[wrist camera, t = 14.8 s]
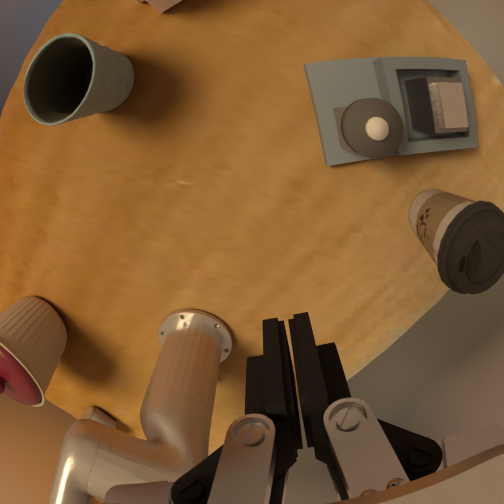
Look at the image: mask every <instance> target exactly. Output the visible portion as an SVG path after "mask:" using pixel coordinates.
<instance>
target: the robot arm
mask: <svg viewBox="0 0 504 504" xmlns="http://www.w3.org/2000/svg"><path fill="white" fill-rule="evenodd" d="M293 316H294V319H289V320H288V322H289V328H290V335H291V342H292V349H293V356H294V363H295V371H296V378H297V385H298V393H299V400H300V406H301V412H302V417H303V423H304V429H305V434H306V440H307V446H308V448H309V447H314V450H315V456H316V459H318V460H320V461H322V462H324V463H325V464H327V468H328V471H329V473H330V476H331V479H332V482H333V485H334V488H335V490H336V493H337V496H338V499H339V501H338V502H333V503H328V504H504V428H503V427H500V426H497V425H496V426H489V427H486V428H482V429H478V430H474V431H470V432H466V433H461V434H456V435H451V436H446V437H443V439H442V440H437V441H434V440H432V439H430V438H427V437H424V436H421V435H418V434H415V433H413V432H410V431H408V430H405V429H402V428H400V427H397V426H394V425H392V424H389V423H387V422H384V421H382V420H379V419H377V418H376V417H375V415H374V413H373V411H372V410H371V408H370V406H369V405H368V404H367V403H366V402H364V401H362V400H360V399H357V398H351V395H350V391H349V388H348V384H347V381H346V378H345V374H344V371H343V368H342V364H341V361H340V358H339V355H338V351H337V348H336V345H335V343H334V342H333V343H328V344H323V345H318V346H316V344H315V339H314V335H313V331H312V327H311V323H310V319H309V315H308V312H305V313H300V314H294V315H293ZM158 335H159V341H160V344H161V345H162V349H161V352H160V354H159V357H158V360H157V363H156V365H155V368H154V371H153V374H152V376H151V379H150V382H149V385H148V388H147V391H146V394H145V396H144V399H143V402H142V406H141V410H140V420H141V425H142V428H143V431H144V434H145V436H146V438H147V440H148V441H146V440H142V439H139V438H136V437H134V436H131V435H128V434H126V433H123V432H121V431H118V430H116V429H114V428H111V427H109V426H107V425H104V424H102V423H99V422H97V421H94V420H91V419H79V420H77V421H76V422H74V423H73V424H72V425H71V426H70V428H69V430H68V431H67V433H66V436H65V438H64V441H63V444H62V447H61V451H60V454H59V458H58V463H57V467H56V471H55V476H54V481H53V486H52V491H51V496H50V502H49V504H285V498H286V490H287V482H288V474H289V471H288V469H289V468H290V467H291V466H292V465H293V464H294V463H295V462H296V457H298V454H297V449H303V445H302V436H301V427H300V419H299V410H298V402H297V394H296V386H295V378H294V372H293V366H292V361H291V356H290V350H289V345H288V340H287V335H286V330H285V325H284V320H283V321H278V318H272V319H266V320H263V355H261V356H254V357H248V358H247V368H246V395H245V415H244V416H241V417H239V418H238V419H236V420H234V421H233V423H232V424H231V425H230V426H229V428H228V430H227V434H226V437H225V441H224V444H223V445H222V446H221V447H220V448H218V449H217V450H216V451H215V452H213V453H212V454H211V455H209V456H208V449H209V437H210V428H211V421H212V414H213V407H214V401H215V394H216V387H217V381H218V380H219V379H218V373H219V367H220V363H221V362H223V361H224V360H225V359H226V358H227V357H228V356H229V354H230V352H231V349H232V336H231V333H230V331H229V329H228V328H227V326H226V325H225V324H224V323H223V322H222V321H221V320H219V319H218V318H217V317H215V316H213V315H211V314H209V313H206V312H203V311H199V310H193V309H185V310H179V311H175V312H173V313H171V314H169V315H168V316H167V317H166V318H165V319H164V320H163V321H162V323H161V325H160V328H159V332H158ZM94 497H95V498H98V499H100V500H103V501H104V503H102V502H100V501H98V500H96V499H95V498H94Z"/></svg>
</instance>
